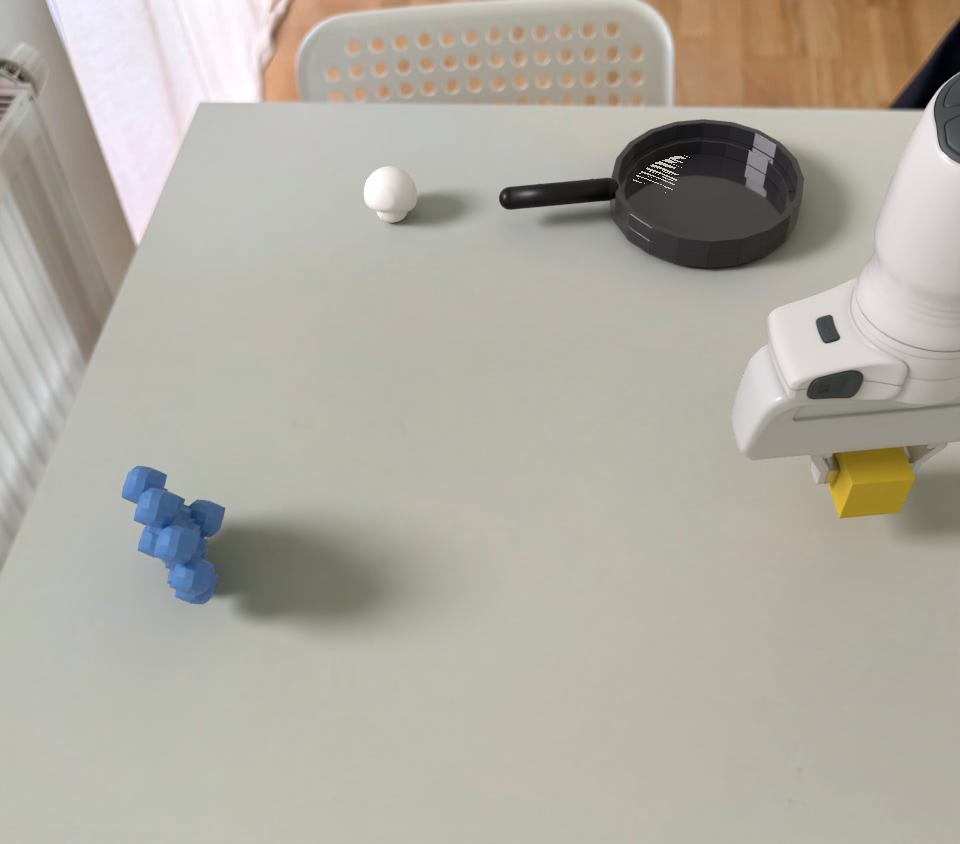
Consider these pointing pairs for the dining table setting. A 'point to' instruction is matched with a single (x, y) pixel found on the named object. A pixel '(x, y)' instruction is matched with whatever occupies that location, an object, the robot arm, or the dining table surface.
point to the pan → (707, 193)
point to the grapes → (175, 532)
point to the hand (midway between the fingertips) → (861, 473)
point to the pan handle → (558, 193)
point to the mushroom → (390, 193)
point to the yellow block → (871, 482)
